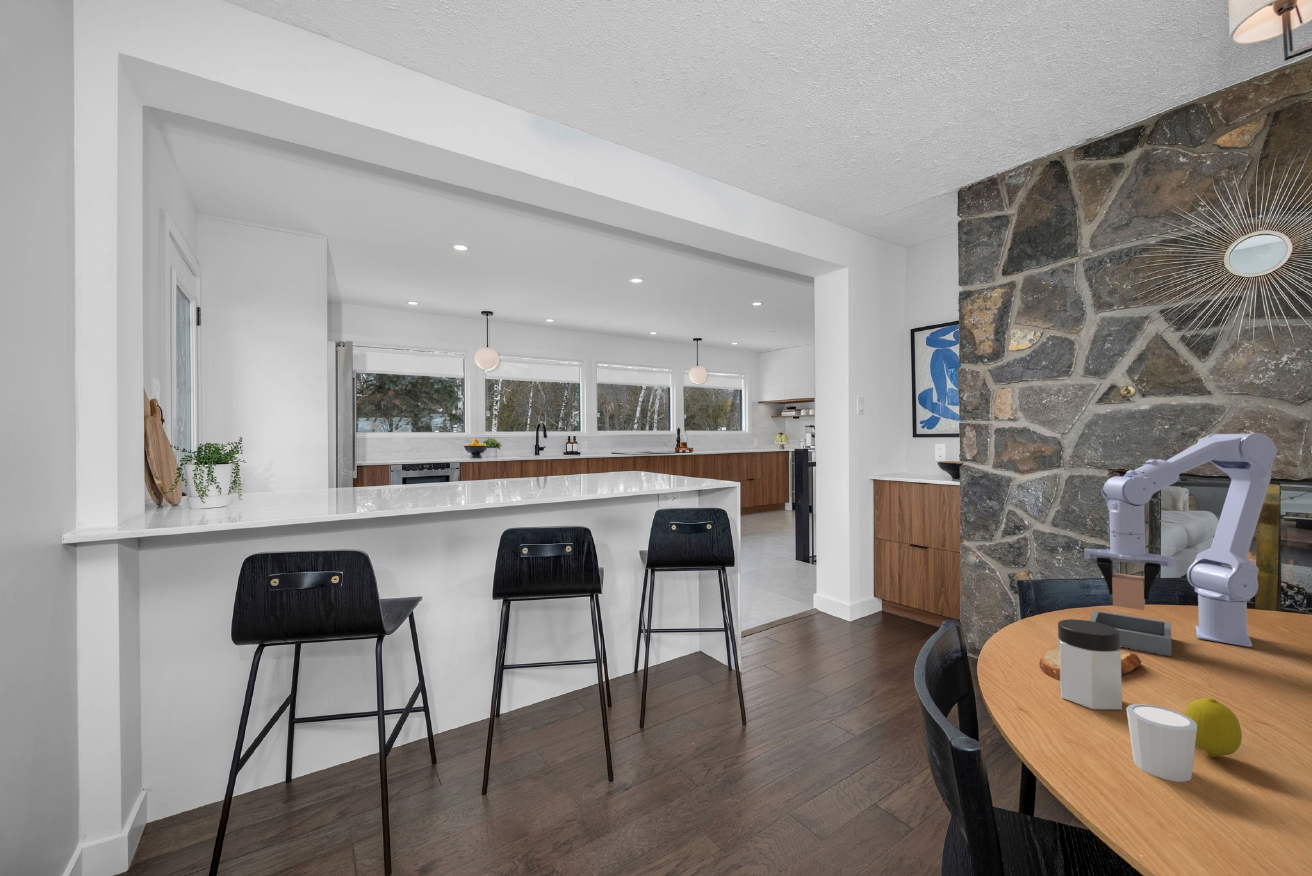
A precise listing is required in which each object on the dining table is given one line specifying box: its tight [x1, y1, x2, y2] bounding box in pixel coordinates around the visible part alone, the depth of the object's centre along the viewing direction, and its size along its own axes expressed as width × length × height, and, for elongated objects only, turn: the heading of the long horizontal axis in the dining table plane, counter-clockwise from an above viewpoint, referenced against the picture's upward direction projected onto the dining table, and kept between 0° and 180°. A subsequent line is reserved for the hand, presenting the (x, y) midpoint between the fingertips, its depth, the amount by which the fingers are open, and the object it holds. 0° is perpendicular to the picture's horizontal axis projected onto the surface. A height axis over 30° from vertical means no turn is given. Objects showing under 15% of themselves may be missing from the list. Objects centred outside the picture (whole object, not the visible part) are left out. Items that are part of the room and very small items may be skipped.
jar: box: [1057, 618, 1123, 711], centre depth 91 cm, size 9×8×12 cm
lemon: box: [1184, 697, 1243, 758], centre depth 74 cm, size 6×6×8 cm
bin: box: [1088, 610, 1173, 657], centre depth 117 cm, size 13×13×4 cm
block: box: [1112, 572, 1146, 611], centre depth 117 cm, size 5×5×6 cm
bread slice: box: [1039, 644, 1142, 682], centre depth 103 cm, size 18×18×4 cm
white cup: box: [1125, 703, 1197, 783], centre depth 72 cm, size 7×7×7 cm
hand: (1128, 596), depth 117 cm, fingers closed on block, 5 cm apart
